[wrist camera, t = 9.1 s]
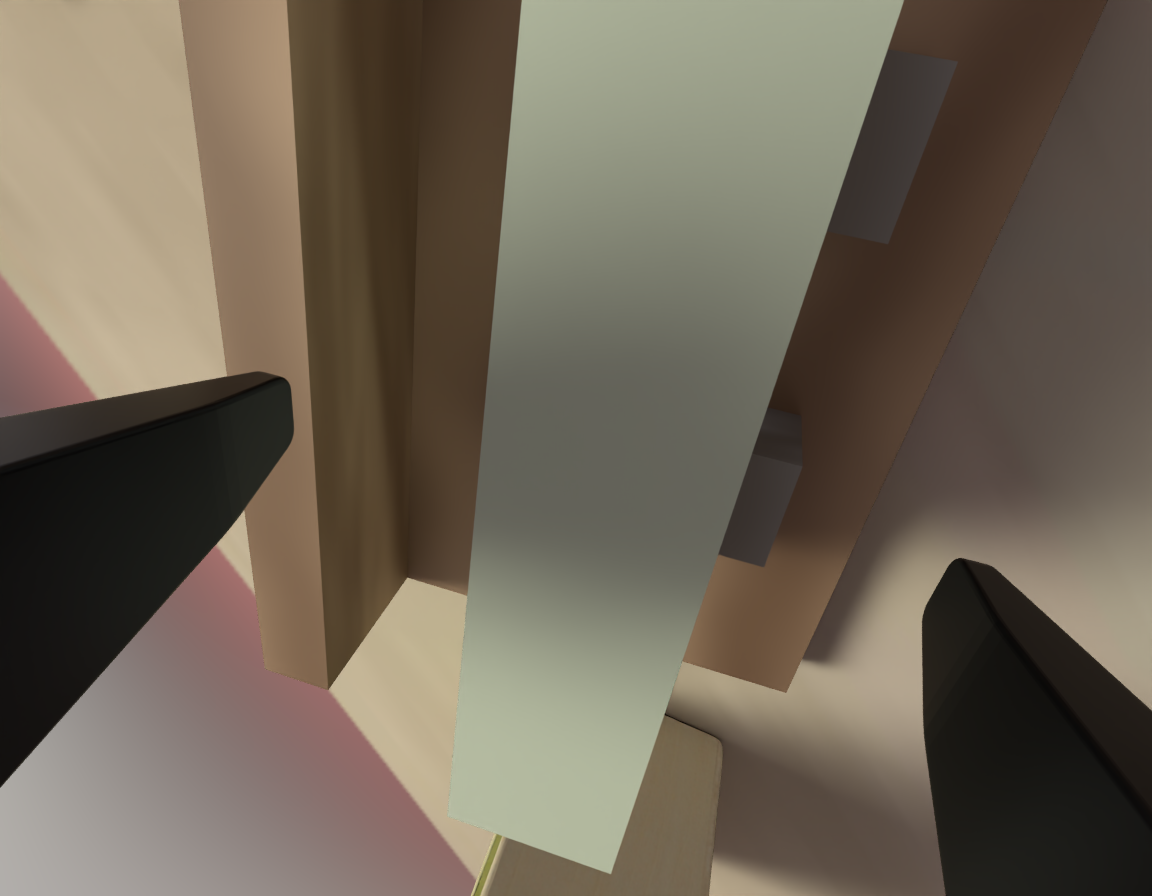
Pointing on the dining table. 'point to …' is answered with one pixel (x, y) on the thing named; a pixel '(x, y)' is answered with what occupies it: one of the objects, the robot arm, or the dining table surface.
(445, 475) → the cabinet base
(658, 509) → the door panel
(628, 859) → the toy refrigerator
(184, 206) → the dining table surface
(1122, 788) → the robot arm
